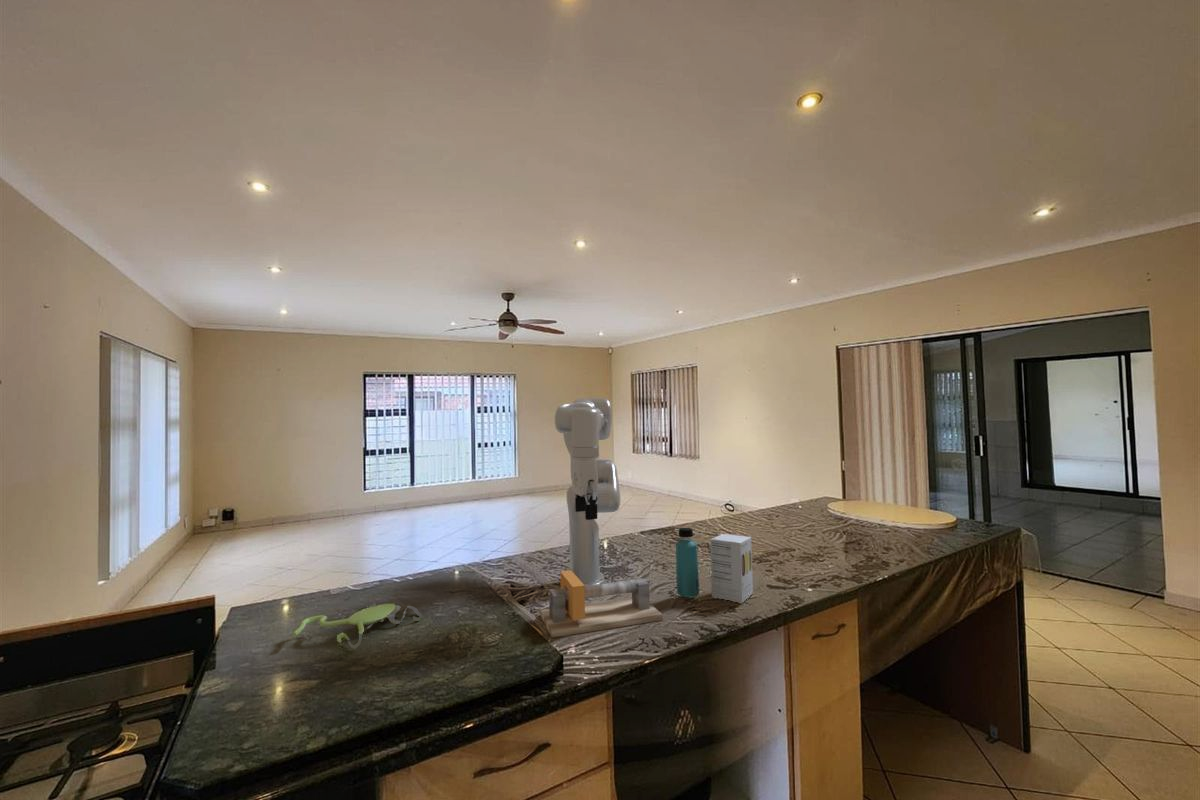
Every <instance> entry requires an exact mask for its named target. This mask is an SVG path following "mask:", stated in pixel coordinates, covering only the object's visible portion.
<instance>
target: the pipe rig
mask: <svg viewBox="0 0 1200 800" xmlns="http://www.w3.org/2000/svg"><path fill="white" fill-rule="evenodd" d="M548 591H549V592H548V594H549V595H548V596H549V597H548V598H549V603H548V604H549V608H542V609H540V613H539V614H540V617H541V620H542V621H543V623H544V626H545V627H546V629H547V631H548V633H549V635H550V637H551V639H552V638H558V637H559V638H560V637H566V636H572V635H579V634H584V633H589V632H596V631H597V632H598V631H602V630H604V631H605V630H609V629H615V628H616V629H617V628H621V627H622V628H623V627H627V626H633V625H634V626H635V625H640V624H647V623H652V622H658V621H659V622H660V621H663V613H661V611H659V610H658V609H657V608H656V607H655V606H653V604H651V603H650V602H651V601H650V600H651V599H650V583H649V582H648V581H647V579H646V578H643V577H637V578H631V580H630V579H629V580H623V581H615V582H608V583H605V582H604V583H603V584H597V585H590V586H585V600H586V599H591V598H600V597H608V596H613V595H623V594H629V593H631V596H630V597H629V596H627V597H621V598H616V599H608V600H607V599H606V600H600V601H593V602H592V601H591V602H585V619H581V620H574V621H573V620H572V618H571V617H570V615H569V614H568V612H567V611H566V609H565V601H568V589H567V588H566V589H561V587H559V588H552V589H551V588H550V589H549V590H548Z"/></svg>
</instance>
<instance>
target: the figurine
mask: <svg viewBox="0 0 1200 800" xmlns="http://www.w3.org/2000/svg"><path fill="white" fill-rule="evenodd" d="M395 604H396V603H383V604H377V606H373V607H369V608H366V609H363V610H361V609H360V610H361V611H360V610H358V611H357V612H355V613H353V614H351V615H350V616H349V617H348V618H343V619H337V620H331V621H327V619H328V616H327V615H322V614H321V615H314V616H311V617H308V618H305V619H303V620H301V622H300V624H299V626H298V628H297V629H296V630H295V631H293V633H292V637H293V638H296V637H297V636H299V634H301V632H303V630H304V629H305V627H306V625H307V624H310V623H313V622H318V625H319V626H321V627H324V628H329V627H337V626H343V625H350V626H351V625H352V626H357V628H358V629H357V630H358V632H357V633H359V634H362V633H363V632H364V633H365V627H364V626H365V624H366V625H369V624H370V623H372V622H375V621H378V620H380V619H383V618H384V617H386V616H387V615H389V614H390V613H391V612H392V611H393V610H394V609H395ZM343 638H344V639H345V640H346V639H348V640H350V638H349V637H348V635H347V633H344V632H341V633H339V634H337V635H336V640H337V642H342V639H343Z"/></svg>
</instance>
